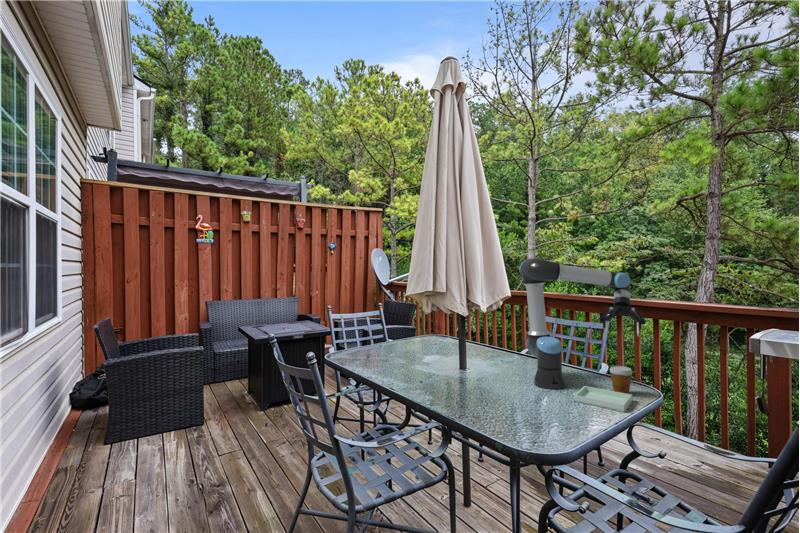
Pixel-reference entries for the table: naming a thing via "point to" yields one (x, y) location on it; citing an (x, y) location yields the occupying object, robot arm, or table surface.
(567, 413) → the table surface
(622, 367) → the disposable coffee cup
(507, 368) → the table surface
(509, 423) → the table surface
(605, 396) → the sage tray
